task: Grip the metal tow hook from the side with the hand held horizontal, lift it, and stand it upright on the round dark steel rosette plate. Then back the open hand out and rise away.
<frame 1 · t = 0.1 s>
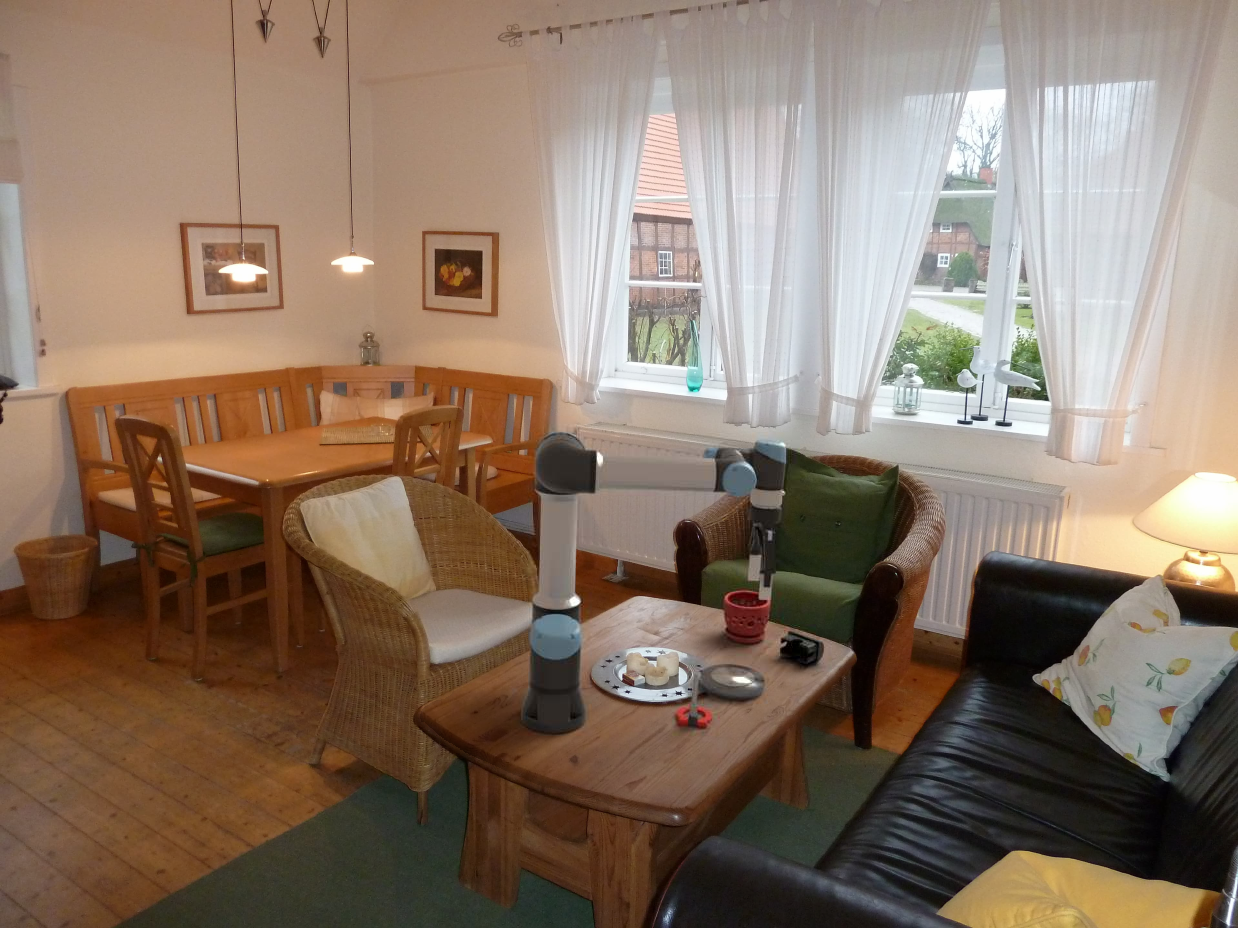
hand: (758, 589, 235), 28 cm above the table, tool pointing down, fingers open, 13 cm apart
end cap: (800, 660, 264), on the table
plant pot: (744, 638, 277), on the table
tow hook: (693, 719, 228), on the table
rosette plate: (732, 686, 245), on the table
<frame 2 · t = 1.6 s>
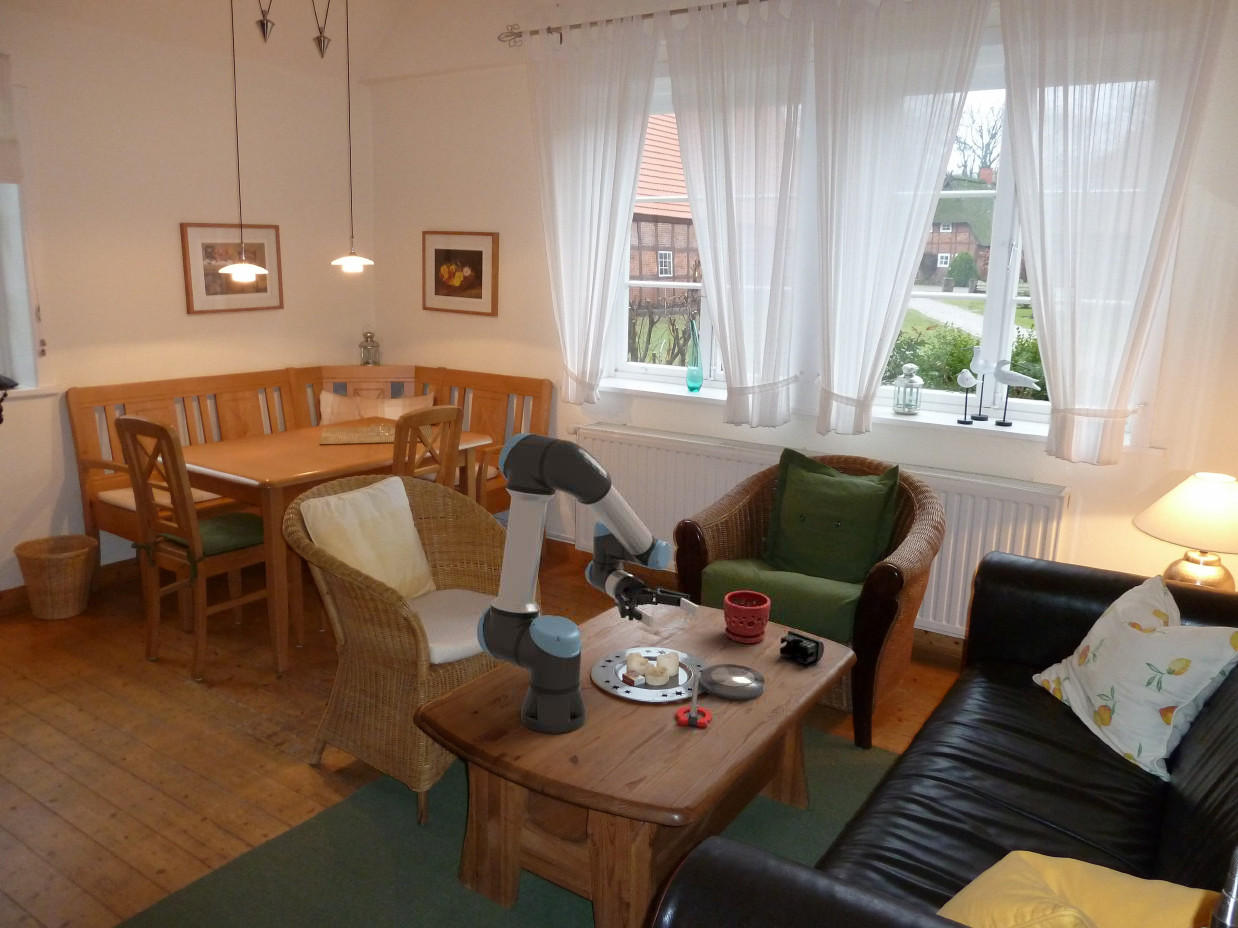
hand: (674, 616, 231), 22 cm above the table, tool horizontal, fingers open, 13 cm apart
nothing on the table moved.
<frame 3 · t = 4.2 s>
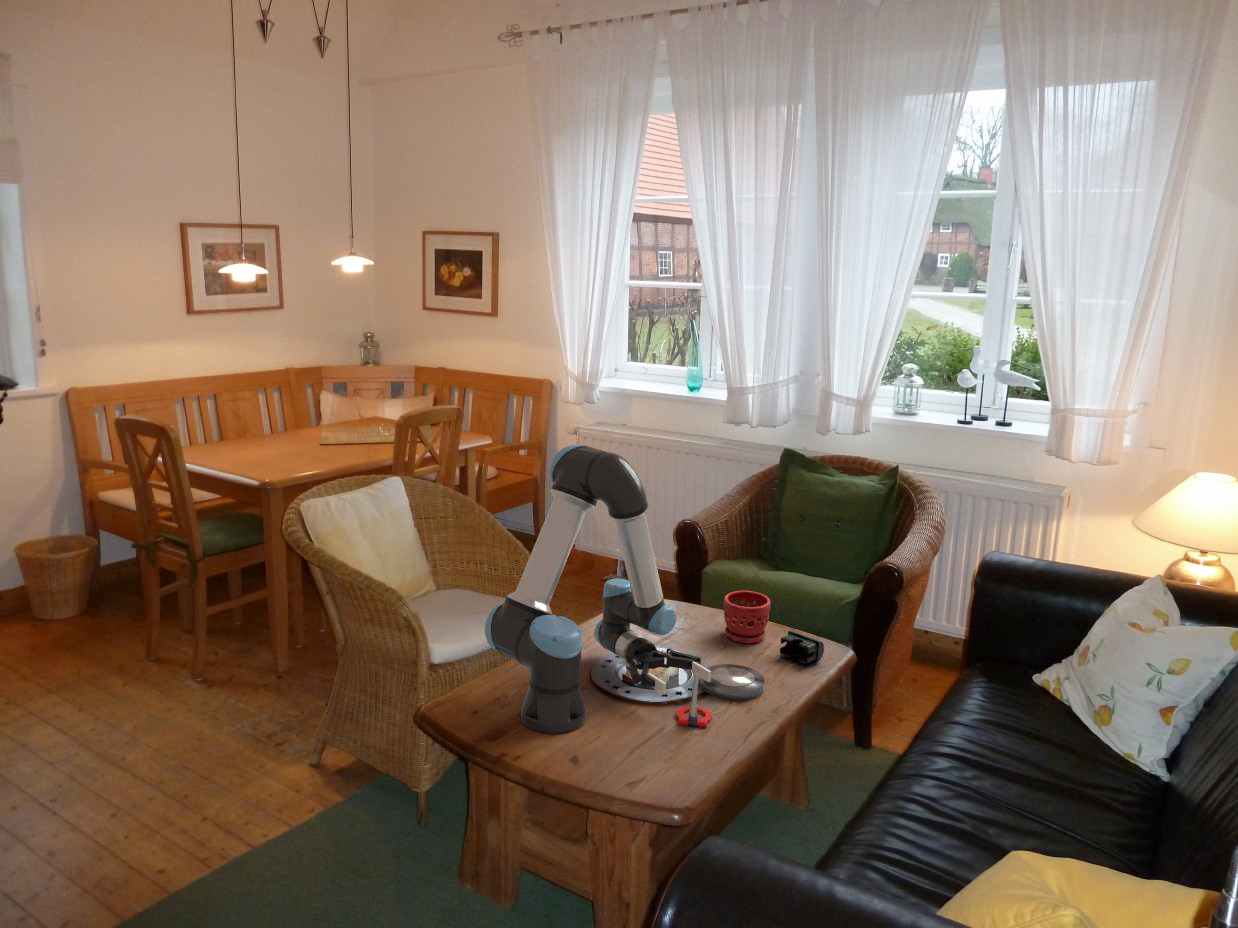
hand: (687, 682, 231), 7 cm above the table, tool horizontal, fingers open, 13 cm apart
nothing on the table moved.
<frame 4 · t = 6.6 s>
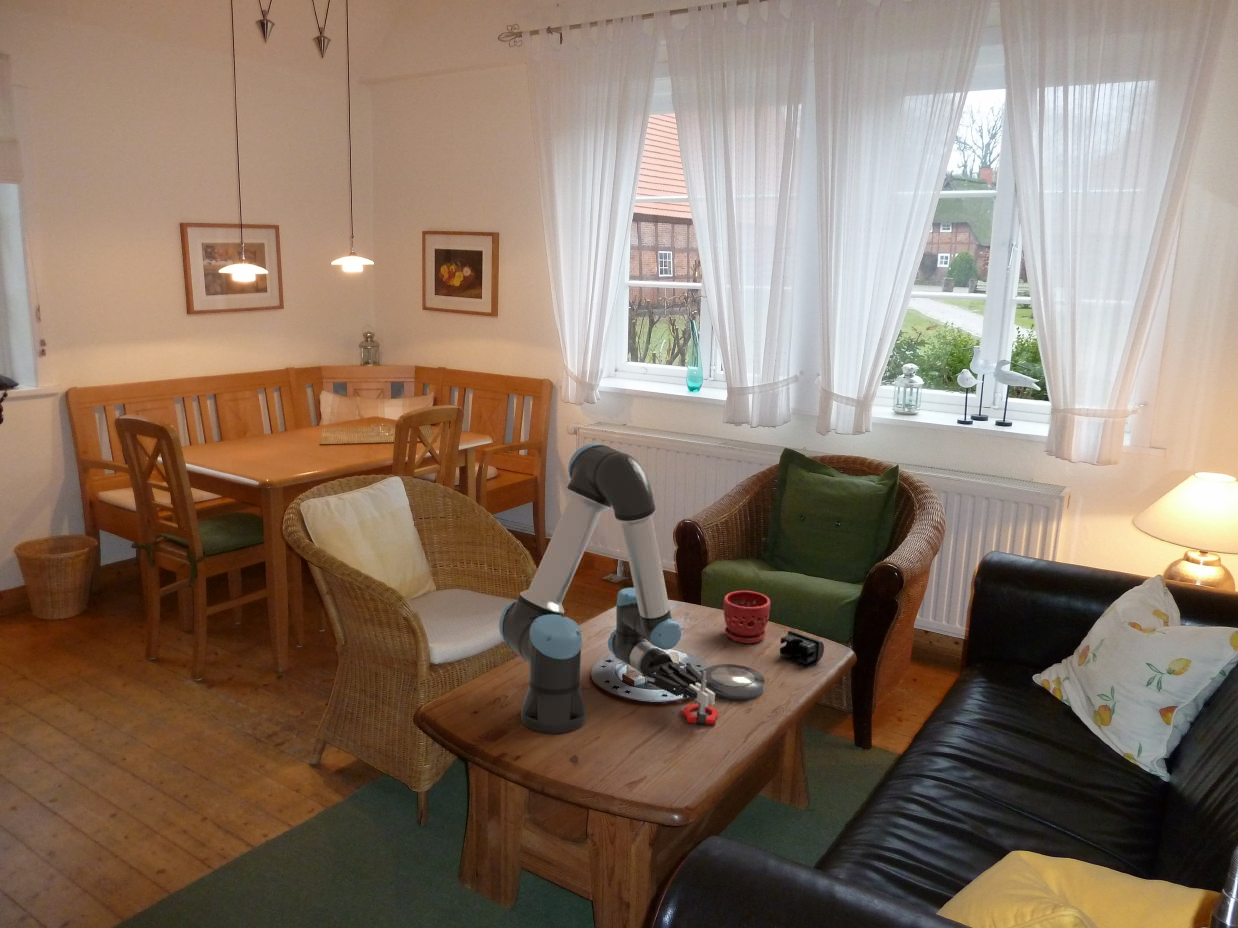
hand: (710, 699, 222), 7 cm above the table, tool horizontal, fingers closed on tow hook
tow hook: (700, 716, 229), on the table, touching gripper
everything else where it was.
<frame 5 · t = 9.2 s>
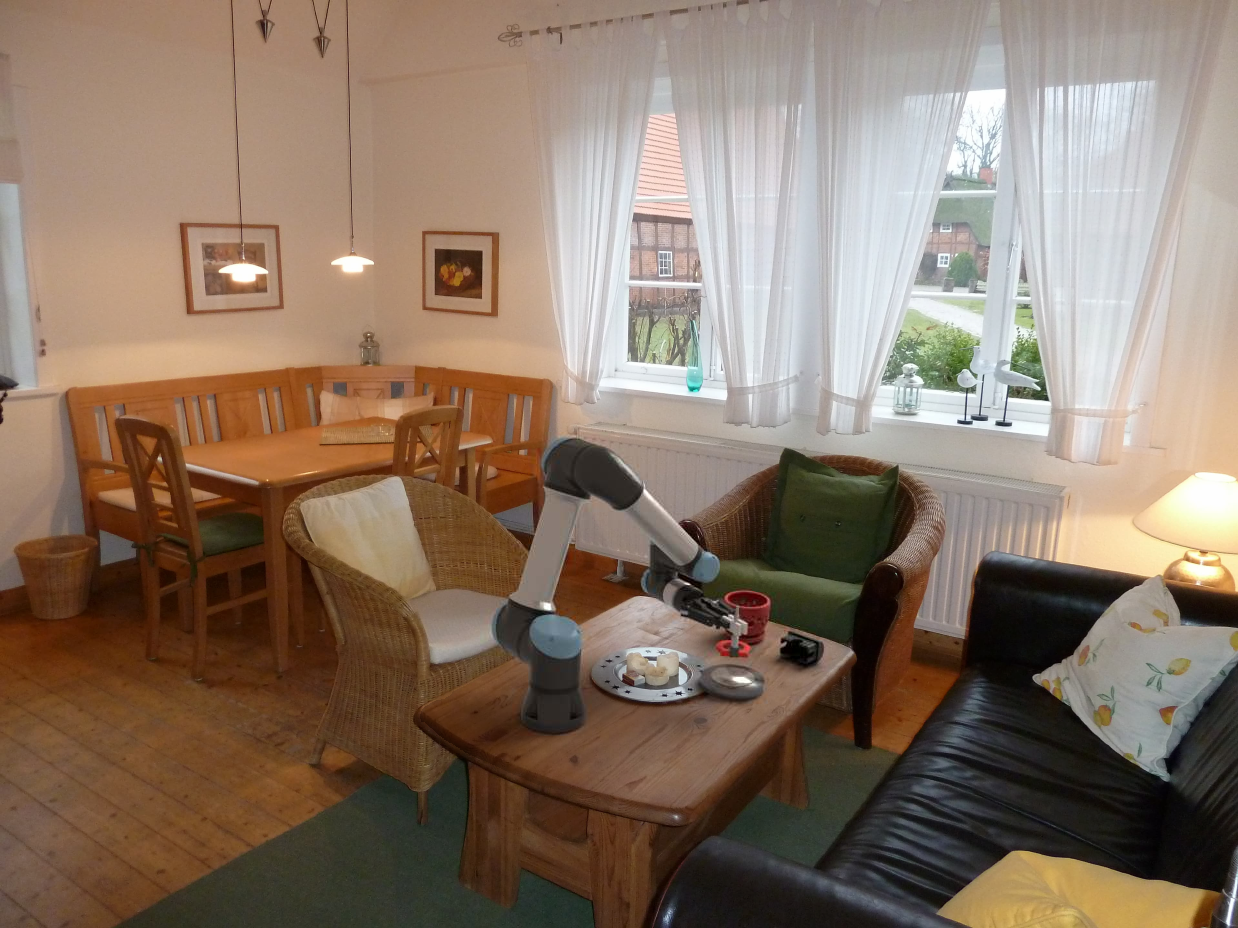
hand: (743, 629, 229), 20 cm above the table, tool horizontal, fingers closed on tow hook
tow hook: (732, 651, 237), point 12 cm above the table, touching gripper
everything else where it was.
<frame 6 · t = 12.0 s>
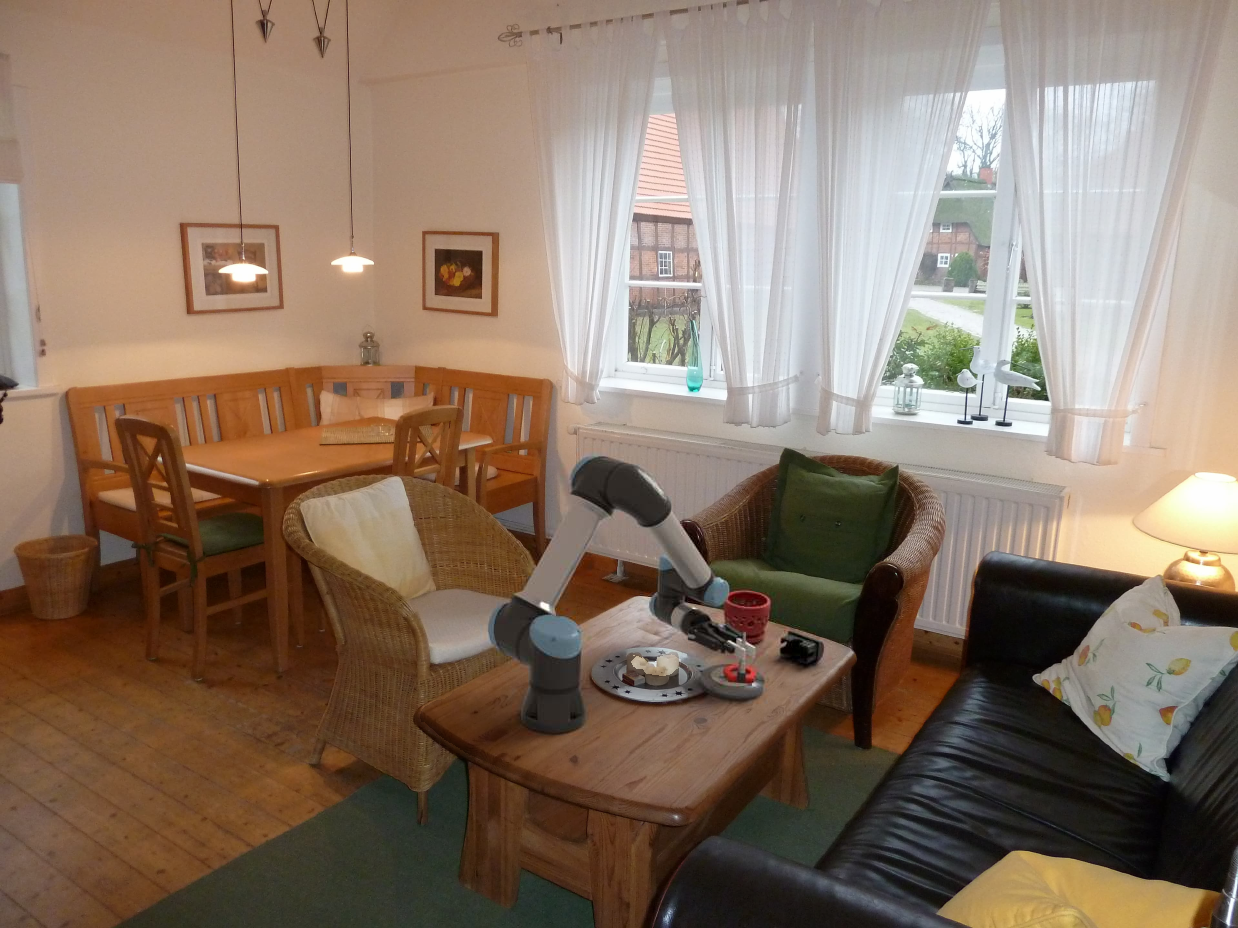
hand: (749, 653, 239), 11 cm above the table, tool horizontal, fingers open, 2 cm apart
tow hook: (739, 675, 246), point 3 cm above the table, touching rosette plate
everything else where it was.
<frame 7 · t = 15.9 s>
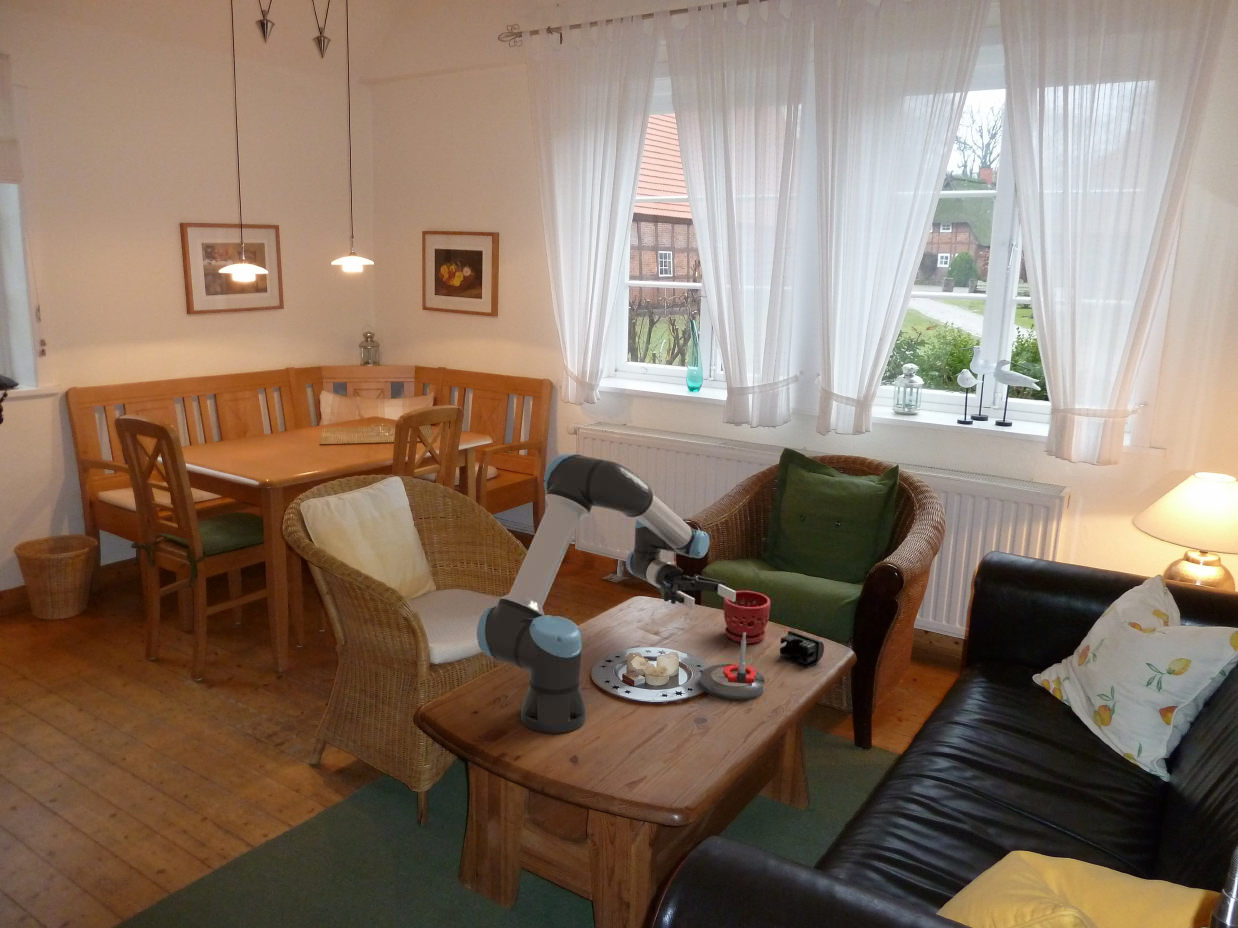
hand: (714, 600, 250), 20 cm above the table, tool horizontal, fingers open, 13 cm apart
nothing on the table moved.
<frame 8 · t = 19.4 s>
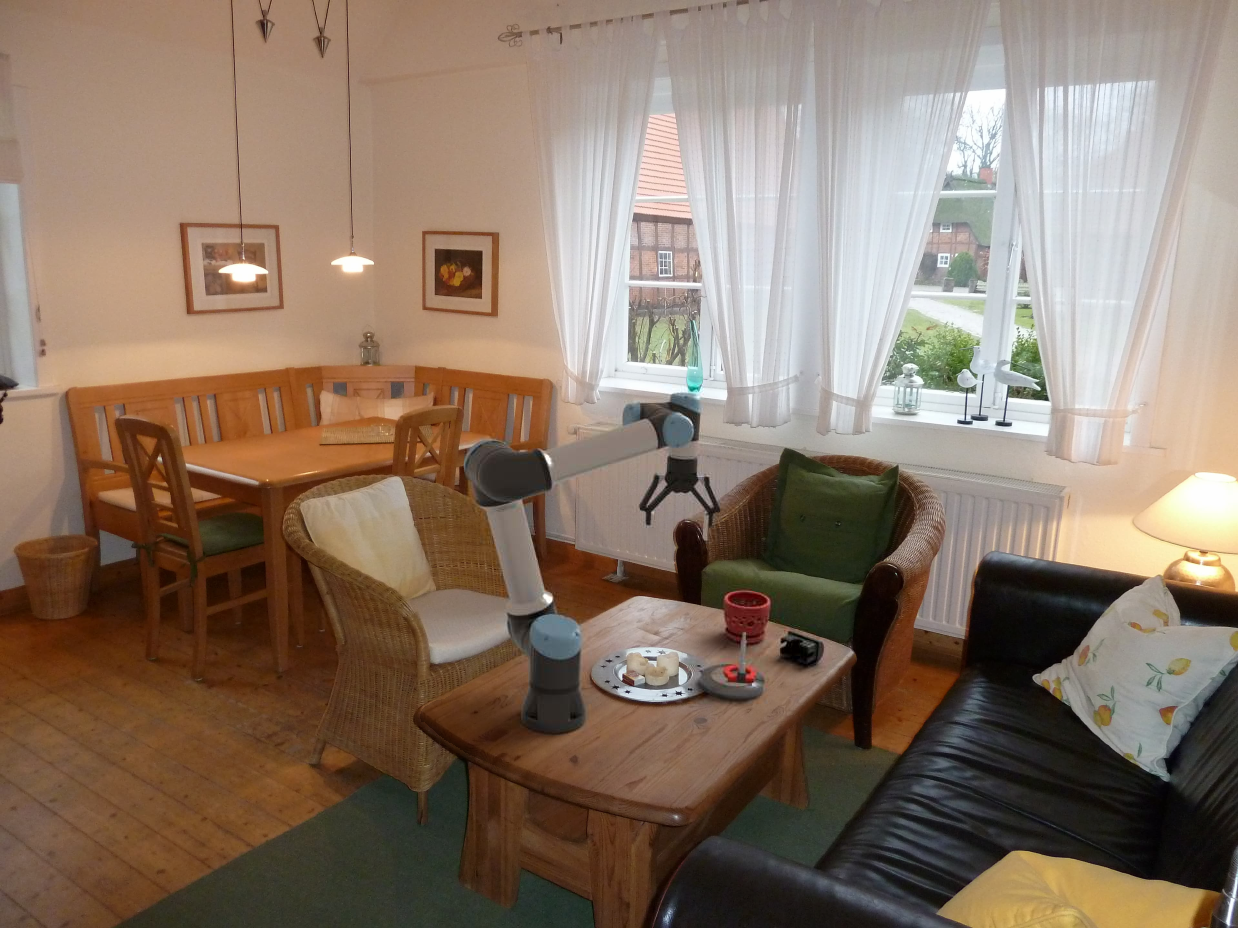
hand: (678, 538, 243), 37 cm above the table, tool pointing down, fingers open, 13 cm apart
nothing on the table moved.
at the end: tow hook inside the target area on the rosette plate (2.0 cm from its centre), point 2.6 cm above the rosette plate's base; tow hook tilted 0°; the gripper is holding nothing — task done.
